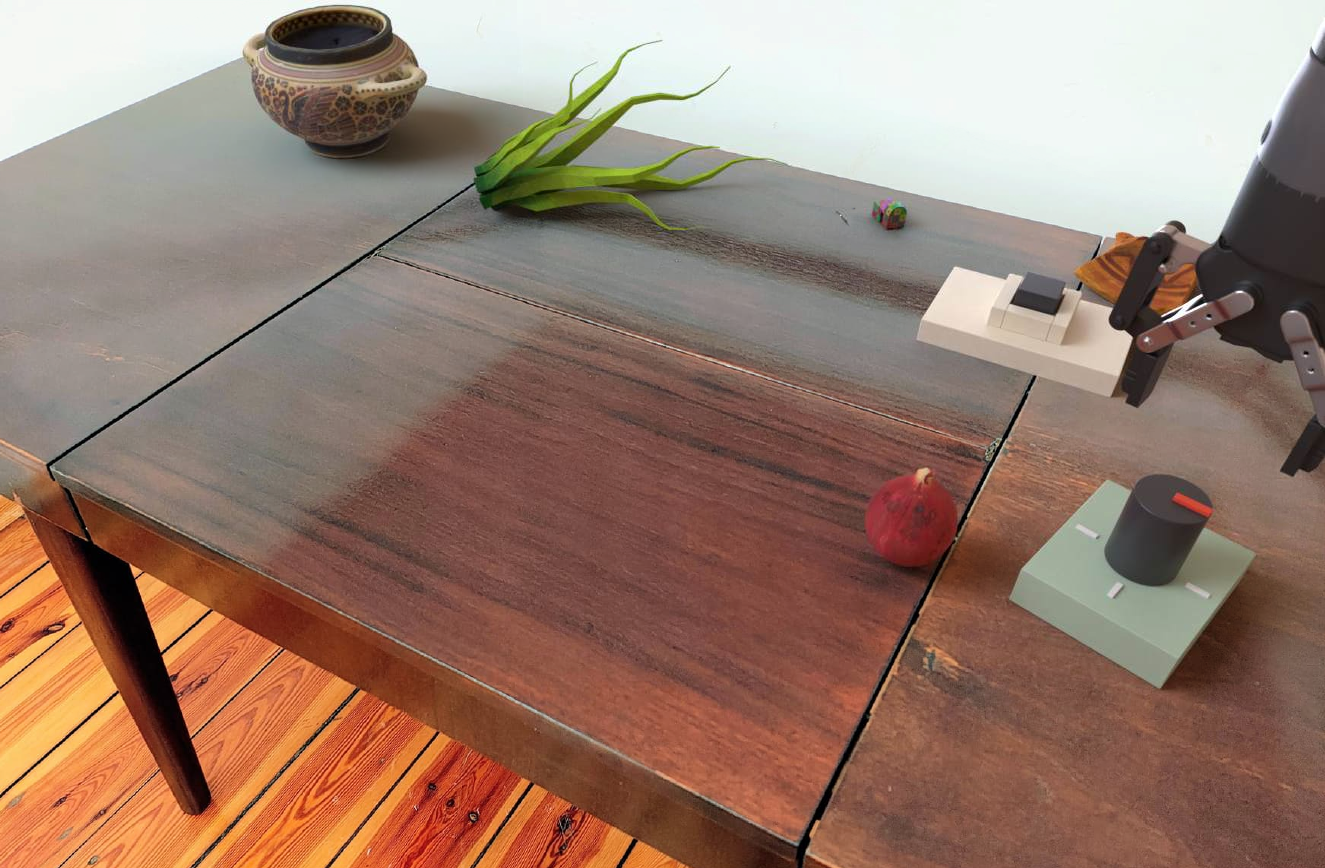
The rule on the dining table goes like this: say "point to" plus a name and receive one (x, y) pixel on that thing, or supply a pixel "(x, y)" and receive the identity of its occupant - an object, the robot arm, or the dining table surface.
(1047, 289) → the dark grey square block
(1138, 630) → the panel
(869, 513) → the pomegranate
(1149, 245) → the robot arm
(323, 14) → the ceramic bowl
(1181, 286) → the pottery fragment
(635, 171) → the decorative plant
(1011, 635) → the dining table surface
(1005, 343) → the stepped cream pedestal
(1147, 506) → the volume knob
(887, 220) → the multicoloured toy piece
